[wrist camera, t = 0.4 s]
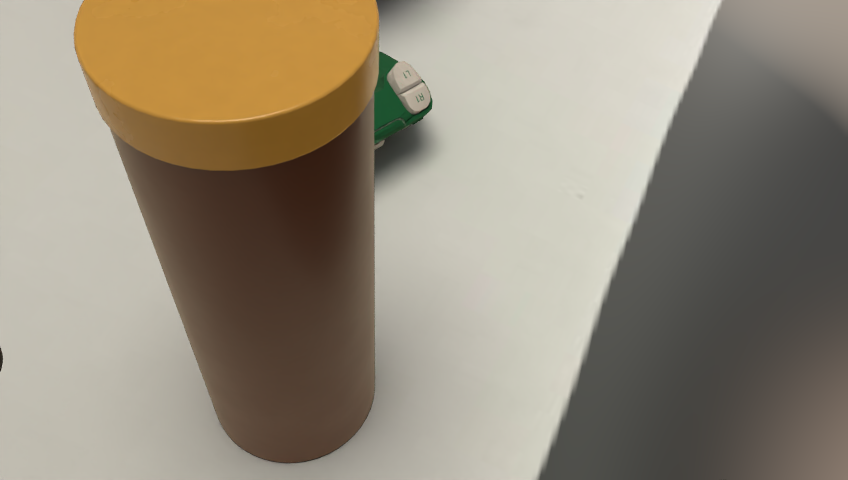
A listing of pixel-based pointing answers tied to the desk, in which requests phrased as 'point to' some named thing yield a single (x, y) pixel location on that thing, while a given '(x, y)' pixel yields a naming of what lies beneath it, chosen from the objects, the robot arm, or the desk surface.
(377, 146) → the gaming controller
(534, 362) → the desk surface
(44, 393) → the desk surface
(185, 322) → the chocolate tin
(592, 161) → the desk surface
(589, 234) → the desk surface
